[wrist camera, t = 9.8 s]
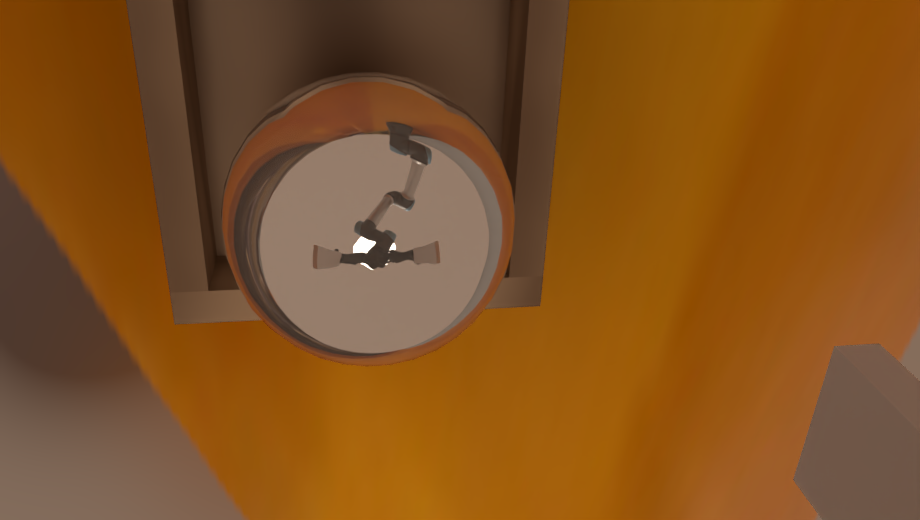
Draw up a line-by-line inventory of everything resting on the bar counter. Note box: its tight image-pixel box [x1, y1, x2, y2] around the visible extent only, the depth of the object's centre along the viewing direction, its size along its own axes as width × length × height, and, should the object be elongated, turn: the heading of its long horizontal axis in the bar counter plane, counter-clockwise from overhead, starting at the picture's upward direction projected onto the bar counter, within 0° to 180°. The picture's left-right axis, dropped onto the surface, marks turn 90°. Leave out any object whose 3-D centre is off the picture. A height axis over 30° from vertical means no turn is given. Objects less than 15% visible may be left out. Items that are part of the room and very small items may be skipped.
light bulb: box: [221, 72, 516, 366], centre depth 21 cm, size 7×7×12 cm
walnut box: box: [126, 0, 569, 324], centre depth 27 cm, size 12×12×6 cm
